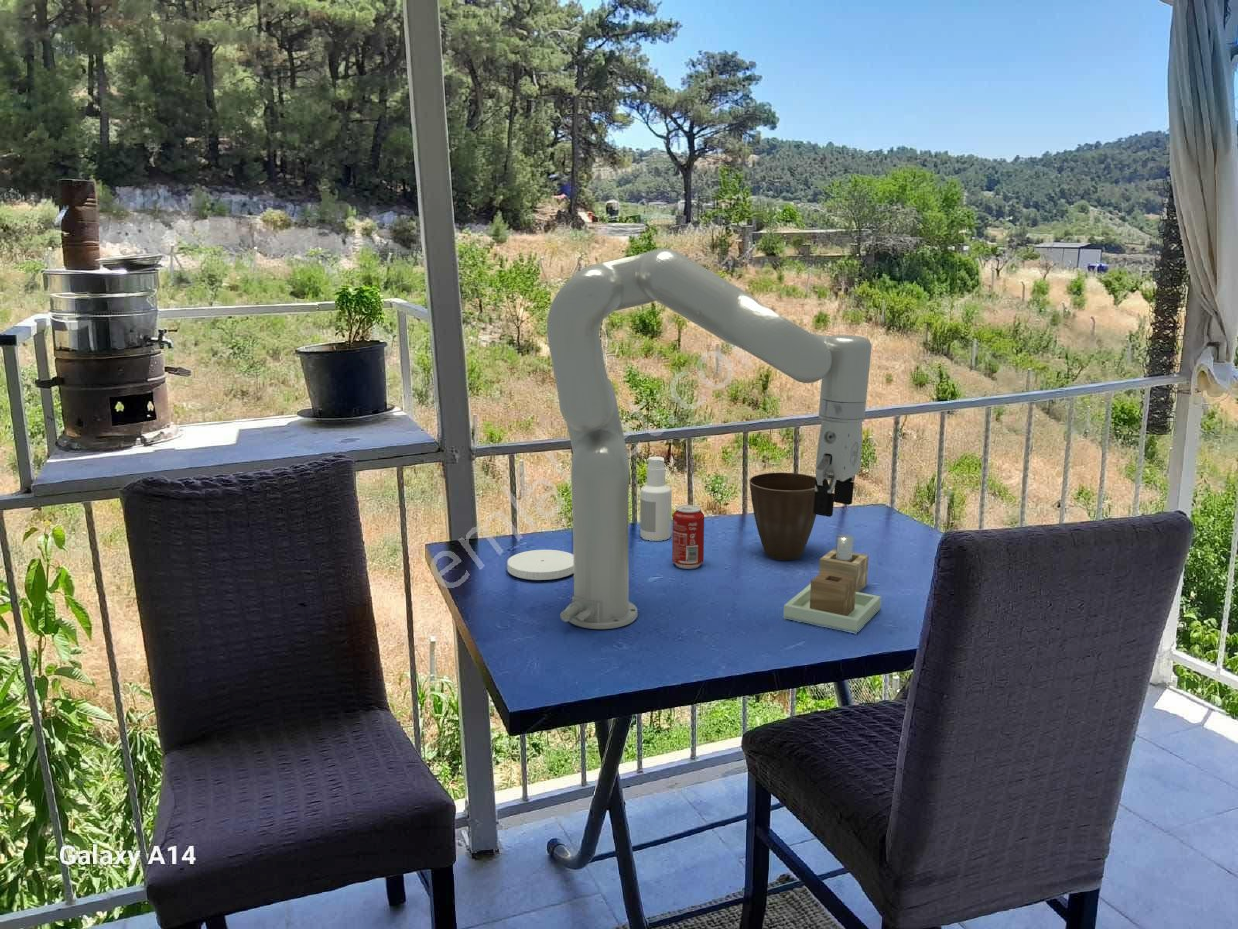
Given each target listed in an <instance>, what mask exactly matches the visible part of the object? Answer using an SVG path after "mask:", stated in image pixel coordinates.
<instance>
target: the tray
mask: <svg viewBox="0 0 1238 929" xmlns="http://www.w3.org/2000/svg"><path fill="white" fill-rule="evenodd" d="M810 591H811V583H809V584H808V585H807V586H806V587H805V588H803V589H802V590H801V591H799V592H798V593H797V594H796V595H795V596H793V597H792V598H791V599H789V601H788V602H786V603H785V604H783V612H782V613H783V616H782V618H785V619H784V620H786V619H791V620H796V621H801V622H804V623H812V624H815V625H820V626H827V627H831V628H835V629H840V630H846V631H852V632H855V633H857V632H858V631H859V630H860V629H861V628H862V627H863V626H864V625H865V624H866V623H867V622H868V621H869V620H870V619H871V618H872V617H873V616H874V615H875V614H876V613H877V612H878V611H879V610H881V605H882V604H881V603H882V596H881V595H875V594H870V593H864V592H861V591H860V592H855V607H854V610H853V611H852V612H851V613H850V614H849V615H848V616H844V615H839V614H834V613H829V612H824V611H819V610H815V609H810ZM879 612H880V611H879ZM879 612H878V613H879ZM878 613H877V614H878ZM877 614H876V615H877ZM876 615H875V616H876ZM875 616H874V617H875ZM874 617H873V618H874ZM873 618H872V619H873ZM872 619H871V620H872ZM871 620H870V621H871ZM870 621H869V622H870ZM869 622H868V623H869ZM804 623H803V624H804ZM868 623H867V624H868ZM867 624H866V625H867ZM866 625H865V626H866ZM865 626H864V627H865Z"/></svg>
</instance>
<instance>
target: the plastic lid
mask: <svg viewBox="0 0 1238 929" xmlns="http://www.w3.org/2000/svg"><path fill="white" fill-rule="evenodd" d="M506 561H507V562H506V564H507V565H506V566H507V567H506V568H507V572H508V573H509V574H510V575H512V576H514V577H517V578H520V579H523V580H524V579H525V580H531V581H533V580H534V581H542V580H544V581H545V580H547V581H548V580H555V579H561V578H564V577H565V578H566V577H568V576H571V575H573V574H574V560H573V553H571V552H567V551H563V550H556V549H534V550H528V551H527V550H526V551H523V552H520V553H519V552H518V553H515V554H514V555H512V556H510V557H509V558H508V559H507V560H506Z"/></svg>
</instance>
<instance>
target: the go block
mask: <svg viewBox="0 0 1238 929" xmlns="http://www.w3.org/2000/svg"><path fill="white" fill-rule="evenodd" d="M868 569H869V555H868V554H864V553H858V552H852V562H847V561H841V560H836V548H835V549H834V548H832V549H831V550H830V551H828V552H827V553H826V554H824V555H823V556H822V557H821V558H819V572H818V575H819V574H820V573H821V572H822V571H827V572H833V573H838V574H844V575H849V576H854V577H856V590H855V592H860V593H861V591H862V590H863V589H864V588H865V587H867V584H868V573H869V570H868Z"/></svg>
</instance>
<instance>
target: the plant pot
mask: <svg viewBox="0 0 1238 929" xmlns="http://www.w3.org/2000/svg"><path fill="white" fill-rule="evenodd" d="M815 479H816V476H813V475H809V474H804V473H796V472H795V473H794V472H767V473H760V474H757V475H754V476H752V477H750V478H749V479H748V480H749V488H750V489H749V490H750V498H751V503H752V505H751V506H752V509H753V511H752V512H753V514H754V515H753V517H754V520H755V524H756V529H757V532H758V535H759V536H758V537H759V539H760V542H761V546H762V548H763V552H764V553H765V555H766V556H767V557H768V558H770V559H773V560H777V561H794V560H798V559H800V558H801V557H802V554H803V552H804V550H805V548H806V546H807V544H808V541H809V539H810V537H811V533H812V531H813V527H814V524H815V520H816V517H817V515H816V514H814V513H813V509H814V497H815V485H816V484H815Z"/></svg>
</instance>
